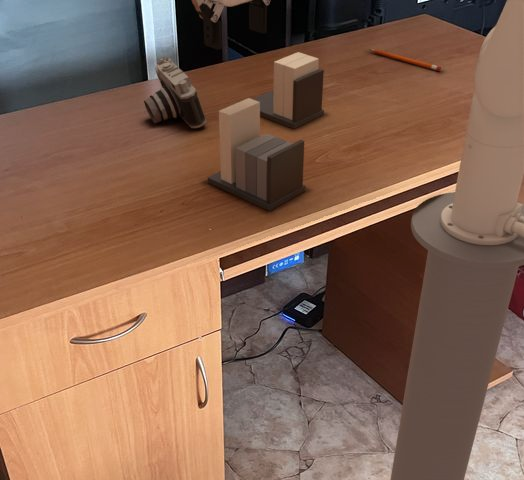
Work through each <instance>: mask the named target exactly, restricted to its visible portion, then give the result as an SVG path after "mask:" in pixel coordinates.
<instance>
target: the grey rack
mask: <svg viewBox="0 0 524 480" xmlns="http://www.w3.org/2000/svg"><path fill="white" fill-rule="evenodd" d="M235 158H236V182H235V183H233V184H230V183H228V182H226V181H224V180H221V170H220V171H218V172H216V173H214V174H212V175H209V176H208V177H207V183H208V184H209V185H212V186H215V187H217V188H219V189H221V190H223V191H225V192H227V193H229V194H231V195H234V196H235V197H238V198H241V199H242V200H245V201H247V202H249V203H251V204H253V205H255V206H258V207H260V208H262V209H264V210H266V211H268V212H270V211H273V210H274V209H276V208H277V207H279V206H281V205H283V204H284V203H286V202H288V201H290V200H291V199H294V198H295V197H297V196H299V195H301V194H302V193H304V192H305V191H306V185H305V184H304V164H305V163H304V162H305V161H304V160H305V140H303V139H300V140H299V139H298V140H297V141H295V142H294V143H292V142H291V141H287V140H285V139H282V138H280V137H277V136H275V135H273V134H270V133H268V132H267V133H264V134H262V135H260V137H257V138H255V139H253V140H251V141H249V142H247V143H245V144H243V145H241V146H238V147H236V148H235Z"/></svg>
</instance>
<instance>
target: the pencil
mask: <svg viewBox="0 0 524 480" xmlns="http://www.w3.org/2000/svg"><path fill="white" fill-rule="evenodd" d="M368 50H369V51H370V52H372V53H373V54H375V55H376V54H377V55H380V56H384V57H388V58H390V59H394V60H398V61H401V62H404V63H405V62H406V63H409V64H412V65H416V66H419V67H423V68H427V69H431V70H433V71H438V72H441V71H442V67H441V66H439V65H435V64H432V63H427V62H425V61H421V60H416V59H413V58H410V57H406V56H402V55H399V54H394V53H392V52H388V51H384V50H380V49H376V48H369V49H368Z"/></svg>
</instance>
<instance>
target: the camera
mask: <svg viewBox="0 0 524 480" xmlns="http://www.w3.org/2000/svg"><path fill="white" fill-rule="evenodd" d="M156 62H157V64H156V65H155V66H154V69H155V73H156V76H157V78H158V80H159V83H160V85H161V86H160V89H159V90H157V91H156V92H154V94H151V95H149V97H148V98H146V99H144V100H143V104H144V106H145V109H146V112H147V113H148V116H149V117H150V119H151V121H152V122H153V123H154V124H155V125H156V124H158V123H160V122H164V121H166V120H171V119H173V118H174V119H178V118H181V119H183V121H184V122H185V123H186V124H187V125H188V126H189V127H190V128H191V129H198V128H201V127H203V126H204V125H205V124H206V123H207V118H206V116H205V113H204V111H203V108H202V105H201V102H200V99H199V96H198V92H197V89H196V88H195V86H193V85H192V83H191V80H190V78H189V76H188V75H187V74H186V73H185V72H184V71H183V70H182V69H181V68H179V66H177V64H176V63H174V61H172V59H171V58H168V57H166V56H163V57H159V58H158V59H157V60H156Z"/></svg>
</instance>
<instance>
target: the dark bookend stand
mask: <svg viewBox="0 0 524 480" xmlns="http://www.w3.org/2000/svg"><path fill="white" fill-rule="evenodd" d="M319 61H320V58H318V57H315V56H312V55H308V54H305V53H302V52H300V51H298V52H295V53H292V54H290V55H288V56H284V57H282V58H280V59H278V60H274V62H273V91H272V90H270V91H267V92H265V93H263V94H261V95H258V96H256V97H253V98H252V99H253V100H256V101H258V102H260V117H262V118H265V119H267V120H269V121H273V122H275V123H277V124H280V125H282V126H285V127H287V128H289V129H290V128H291V129H293V130H295V129H297V128H299V127H301V126H303V125H305V124H308V123H309V122H311V121H314V120H316V119H318V118H320V117H322V116H324V115H325V109H323V91H324V74H325V73H324V72H325V70H324V69H323V68H319V64H320V63H319Z"/></svg>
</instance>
